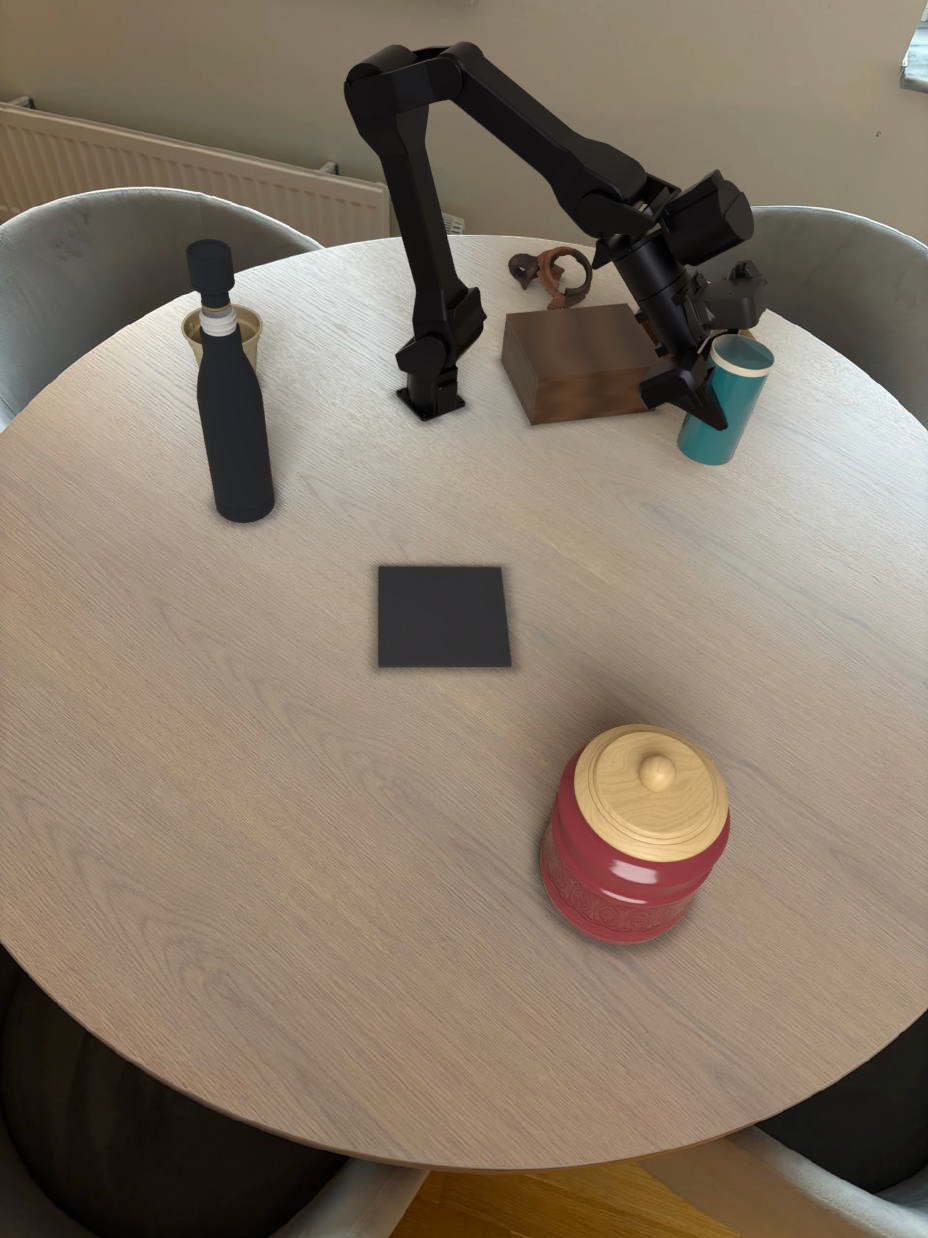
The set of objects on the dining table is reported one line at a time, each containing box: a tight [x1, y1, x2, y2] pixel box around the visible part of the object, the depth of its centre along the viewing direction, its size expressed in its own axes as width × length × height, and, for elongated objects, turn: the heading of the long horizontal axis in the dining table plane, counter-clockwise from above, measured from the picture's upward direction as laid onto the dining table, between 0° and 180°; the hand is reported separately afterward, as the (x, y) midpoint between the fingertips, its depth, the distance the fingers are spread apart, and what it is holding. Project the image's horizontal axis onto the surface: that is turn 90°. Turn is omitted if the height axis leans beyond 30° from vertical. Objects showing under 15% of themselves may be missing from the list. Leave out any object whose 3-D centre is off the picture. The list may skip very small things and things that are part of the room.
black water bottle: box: [184, 238, 276, 524], centre depth 94 cm, size 6×6×30 cm
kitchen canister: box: [539, 723, 731, 946], centre depth 73 cm, size 13×13×18 cm
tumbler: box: [676, 334, 776, 467], centre depth 100 cm, size 6×6×12 cm
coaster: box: [377, 566, 512, 668], centre depth 97 cm, size 13×13×1 cm
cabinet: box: [500, 302, 664, 426], centre depth 121 cm, size 17×14×7 cm
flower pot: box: [180, 302, 264, 375], centre depth 115 cm, size 9×9×9 cm
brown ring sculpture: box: [507, 245, 594, 310], centre depth 134 cm, size 12×10×8 cm
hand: (733, 411), depth 100 cm, fingers closed on tumbler, 6 cm apart
